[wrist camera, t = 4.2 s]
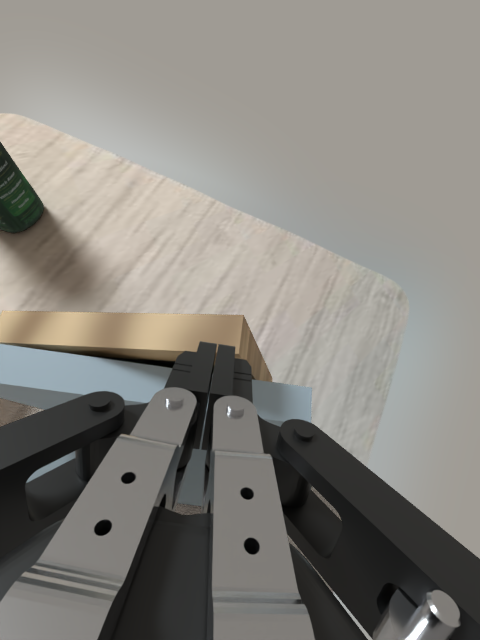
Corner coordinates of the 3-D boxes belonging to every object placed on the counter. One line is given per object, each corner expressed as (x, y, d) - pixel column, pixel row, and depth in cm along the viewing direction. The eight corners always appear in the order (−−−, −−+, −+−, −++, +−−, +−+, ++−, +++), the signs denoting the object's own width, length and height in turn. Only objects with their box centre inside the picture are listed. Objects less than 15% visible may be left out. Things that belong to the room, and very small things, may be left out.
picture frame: (111, 388, 35) (-13, 341, 22) (117, 367, 36) (2, 310, 23) (270, 402, 31) (238, 353, 17) (272, 378, 32) (243, 315, 18)
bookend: (26, 483, 35) (-208, 525, 15) (58, 392, 40) (-93, 330, 19) (251, 510, 37) (307, 581, 17) (259, 419, 41) (311, 387, 21)
